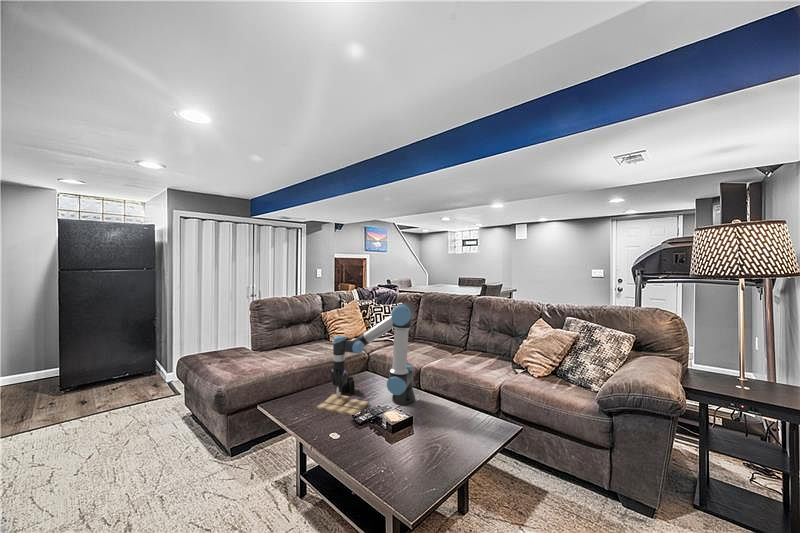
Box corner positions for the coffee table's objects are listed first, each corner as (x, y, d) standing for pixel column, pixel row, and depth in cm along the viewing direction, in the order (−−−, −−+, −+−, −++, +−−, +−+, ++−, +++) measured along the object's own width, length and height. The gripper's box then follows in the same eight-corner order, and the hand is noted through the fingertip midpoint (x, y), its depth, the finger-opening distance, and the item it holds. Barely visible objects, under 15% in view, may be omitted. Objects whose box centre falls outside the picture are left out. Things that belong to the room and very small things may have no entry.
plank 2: (369, 403, 211) (369, 401, 211) (361, 411, 202) (361, 409, 202) (351, 400, 216) (351, 398, 216) (343, 407, 207) (343, 405, 206)
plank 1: (349, 398, 216) (349, 396, 216) (341, 407, 207) (341, 405, 207) (333, 395, 221) (332, 393, 221) (324, 403, 212) (324, 401, 211)
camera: (335, 389, 236) (335, 375, 236) (349, 387, 241) (349, 373, 240) (340, 396, 224) (340, 381, 223) (356, 394, 228) (356, 379, 228)
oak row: (361, 412, 200) (361, 410, 200) (356, 416, 195) (356, 414, 195) (322, 404, 211) (322, 402, 211) (316, 408, 205) (316, 406, 205)
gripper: (350, 359, 216) (350, 395, 217) (333, 357, 221) (333, 392, 222) (344, 363, 209) (344, 400, 210) (327, 360, 214) (326, 396, 215)
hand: (338, 396), depth 216 cm, fingers closed
